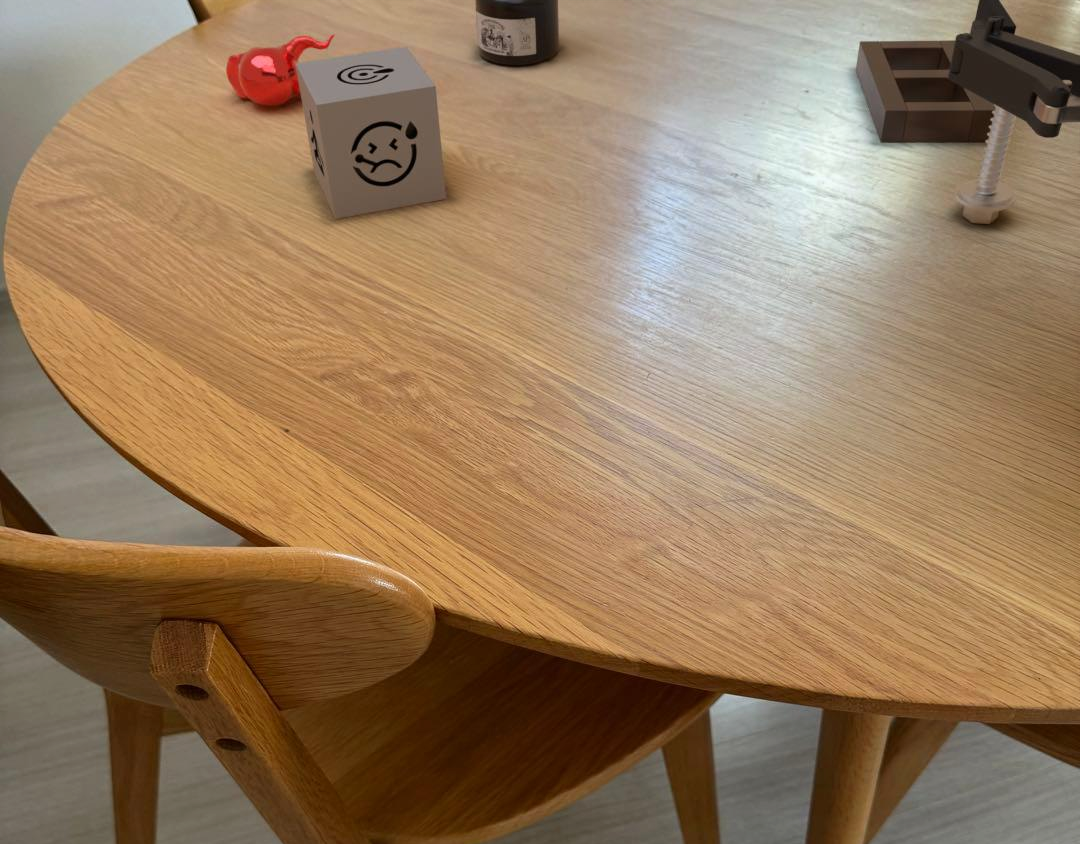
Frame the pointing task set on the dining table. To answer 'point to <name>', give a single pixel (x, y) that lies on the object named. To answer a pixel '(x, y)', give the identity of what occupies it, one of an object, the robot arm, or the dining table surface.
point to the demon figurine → (270, 71)
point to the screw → (989, 175)
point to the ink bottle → (517, 30)
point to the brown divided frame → (919, 94)
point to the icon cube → (372, 131)
